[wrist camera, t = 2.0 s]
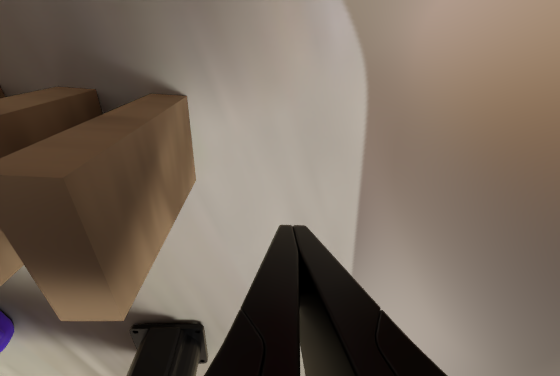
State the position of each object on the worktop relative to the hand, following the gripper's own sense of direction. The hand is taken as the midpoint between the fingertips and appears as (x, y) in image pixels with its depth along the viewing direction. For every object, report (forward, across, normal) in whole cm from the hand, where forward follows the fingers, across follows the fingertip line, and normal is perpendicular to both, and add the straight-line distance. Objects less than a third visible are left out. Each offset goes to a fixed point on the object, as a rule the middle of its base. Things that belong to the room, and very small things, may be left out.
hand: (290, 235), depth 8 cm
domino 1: (+8, +6, 0) cm, 10 cm away
